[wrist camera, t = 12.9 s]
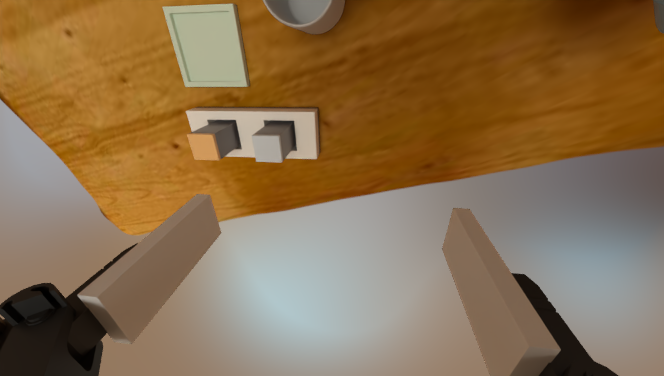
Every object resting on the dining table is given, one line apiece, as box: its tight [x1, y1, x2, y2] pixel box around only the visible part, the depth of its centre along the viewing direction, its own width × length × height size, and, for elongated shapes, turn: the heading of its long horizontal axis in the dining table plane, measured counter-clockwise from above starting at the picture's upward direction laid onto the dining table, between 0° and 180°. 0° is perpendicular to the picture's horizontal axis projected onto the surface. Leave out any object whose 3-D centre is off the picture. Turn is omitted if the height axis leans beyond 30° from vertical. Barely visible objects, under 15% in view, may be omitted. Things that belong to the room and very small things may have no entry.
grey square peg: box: [252, 120, 296, 162], centre depth 39 cm, size 4×4×9 cm
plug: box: [187, 120, 241, 160], centre depth 41 cm, size 4×4×9 cm
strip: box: [186, 107, 320, 159], centre depth 43 cm, size 8×22×4 cm, turn 91°
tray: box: [163, 4, 250, 87], centre depth 39 cm, size 11×11×1 cm
